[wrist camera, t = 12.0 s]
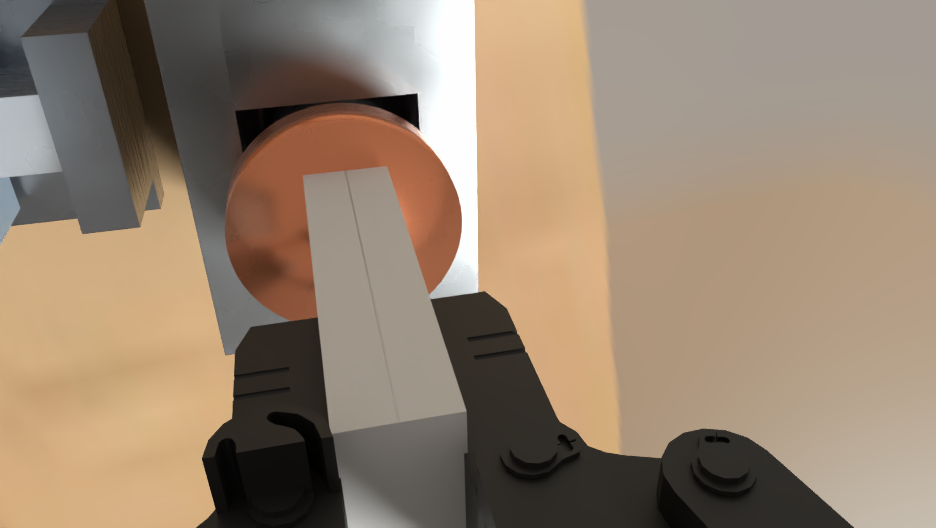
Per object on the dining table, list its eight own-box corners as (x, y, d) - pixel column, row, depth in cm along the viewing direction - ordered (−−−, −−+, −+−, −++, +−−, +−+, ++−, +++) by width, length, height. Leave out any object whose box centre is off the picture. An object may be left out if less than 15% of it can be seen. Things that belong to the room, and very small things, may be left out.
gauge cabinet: (233, 201, 25) (225, 355, 18) (180, -73, 21) (143, -2, 14) (421, 179, 26) (478, 317, 19) (407, -85, 22) (473, -24, 15)
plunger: (250, 160, 23) (246, 345, 16) (222, 6, 21) (203, 136, 13) (399, 144, 24) (464, 313, 16) (389, -6, 22) (459, 110, 14)
